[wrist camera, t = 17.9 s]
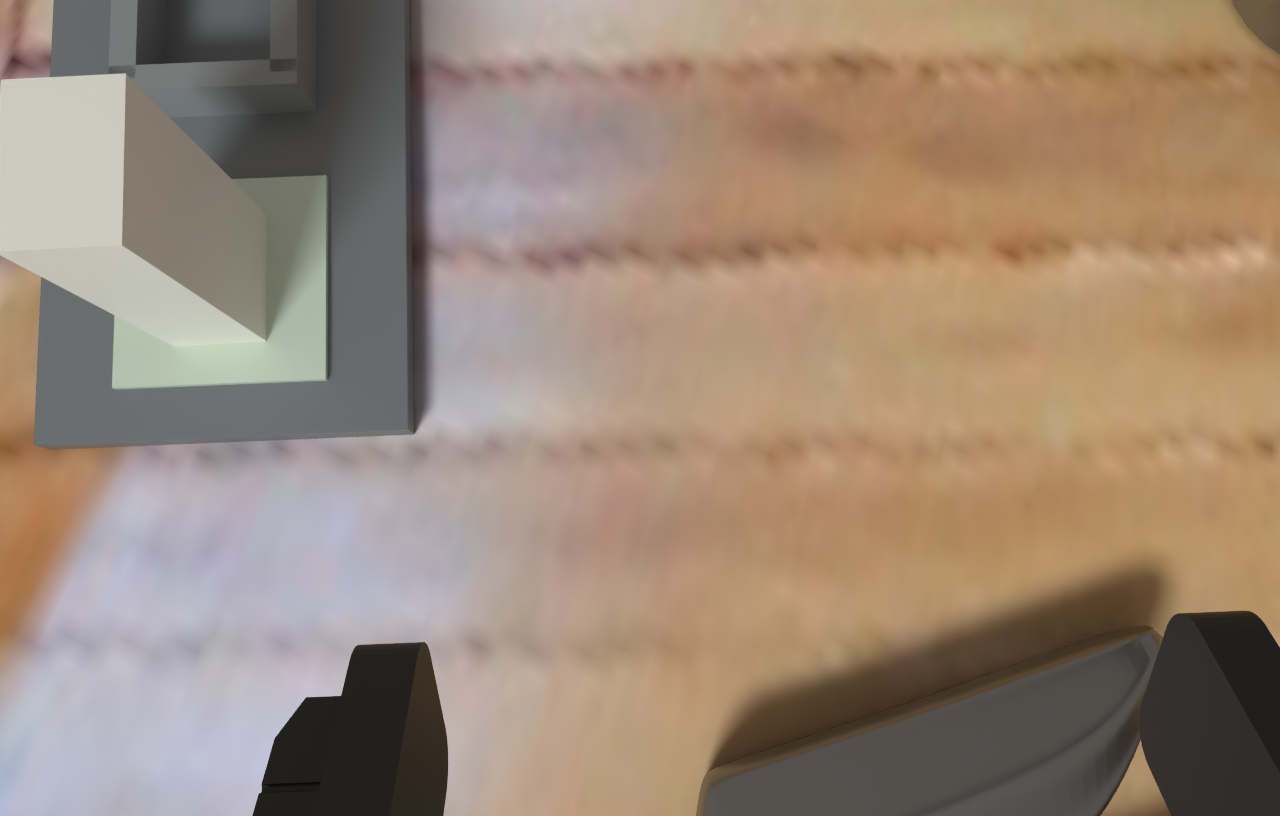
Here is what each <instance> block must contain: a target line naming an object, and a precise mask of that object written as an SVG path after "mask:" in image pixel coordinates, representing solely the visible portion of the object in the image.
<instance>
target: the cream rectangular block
mask: <svg viewBox="0 0 1280 816" xmlns="http://www.w3.org/2000/svg"><path fill="white" fill-rule="evenodd" d="M0 255H1V256H3V257H5V258H7V259H8V260H10V261H12V262H14V263H16V264H18V265H20V266H22V267H24V268H26V269H27V270H29V271H31V272H33V273H35V274H37V275H39V276H41V277H43V278H45V279H46V280H48V281H50V282H52V283H54V284H56V285H58V286H60V287H62V288H64V289H65V290H67V291H69V292H71V293H73V294H75V295H77V296H79V297H81V298H83V299H84V300H86V301H88V302H90V303H92V304H94V305H96V306H98V307H100V308H102V309H103V310H105V311H107V312H109V313H111V314H113V315H115V316H117V317H119V318H121V319H122V320H124V321H126V322H128V323H130V324H132V325H134V326H136V327H138V328H140V329H142V330H143V331H145V332H147V333H149V334H151V335H153V336H155V337H157V338H159V339H161V340H162V341H164V342H166V343H168V344H170V345H172V346H191V345H211V344H230V343H249V342H267V214H266V213H265V212H264V211H263V210H262V209H261V208H260V207H259V206H258V205H257V204H256V203H255V202H254V201H253V200H252V199H251V198H250V197H249V196H248V195H247V194H246V193H245V192H244V191H243V190H242V189H241V188H240V187H239V186H238V185H237V184H236V183H235V182H234V181H233V180H232V179H231V178H230V177H229V176H228V175H227V174H226V173H225V172H224V171H223V170H222V169H221V168H220V167H219V166H218V165H217V164H216V163H215V162H214V161H213V160H212V159H211V158H210V157H209V156H208V155H207V154H206V153H205V152H204V151H203V150H202V149H201V148H200V147H199V146H198V145H197V144H196V143H195V142H194V141H193V140H192V139H191V138H190V137H189V136H188V135H187V134H186V133H185V132H184V131H183V130H182V129H181V128H180V127H179V126H178V125H177V124H176V123H175V122H174V121H173V120H172V119H171V118H170V117H169V116H168V115H167V114H166V113H165V112H164V111H163V110H162V109H161V108H160V107H159V106H158V105H157V104H156V103H155V102H154V101H153V100H152V99H151V98H150V97H149V96H148V95H147V94H146V93H145V92H144V91H143V90H142V89H141V88H140V87H139V86H138V85H137V84H136V83H135V82H134V81H133V80H132V79H131V78H130V77H129V76H128V75H127V74H126V73H122V74H103V75H84V76H64V77H45V78H26V79H6V80H1V92H0Z"/></svg>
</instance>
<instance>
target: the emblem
mask: <svg viewBox="0 0 1280 816" xmlns="http://www.w3.org/2000/svg"><path fill="white" fill-rule="evenodd" d="M1162 640H1163V638H1162V636H1161V635H1160V634H1159V633H1158V632H1157V631H1155V630H1154V629H1153V628H1152V627H1149V626H1137V627H1131V628H1125V629H1121V630H1117V631H1113V632H1109V633H1106V634H1103V635H1099V636H1096V637H1093V638H1090V639H1087V640H1084V641H1081V642H1078V643H1075V644H1072V645H1069V646H1066V647H1064V648H1061V649H1058V650H1055V651H1052V652H1049V653H1047V654H1044V655H1041V656H1038V657H1036V658H1033V659H1030V660H1027V661H1024V662H1022V663H1019V664H1016V665H1013V666H1011V667H1008V668H1005V669H1002V670H1000V671H997V672H994V673H991V674H988V675H986V676H983V677H980V678H977V679H974V680H972V681H969V682H966V683H963V684H960V685H958V686H955V687H952V688H949V689H946V690H943V691H940V692H938V693H935V694H932V695H929V696H926V697H923V698H920V699H917V700H915V701H912V702H909V703H906V704H903V705H900V706H897V707H894V708H891V709H888V710H885V711H882V712H879V713H876V714H873V715H870V716H867V717H864V718H861V719H859V720H856V721H853V722H850V723H847V724H844V725H841V726H838V727H835V728H832V729H829V730H826V731H823V732H820V733H817V734H814V735H810V736H807V737H804V738H801V739H798V740H795V741H792V742H789V743H786V744H783V745H780V746H777V747H774V748H771V749H768V750H765V751H762V752H759V753H756V754H753V755H750V756H747V757H744V758H741V759H738V760H735V761H732V762H729V763H726V764H723V765H721V766H718V767H716V768H714V769H712V770H711V771H709V772H708V773H707V774H706V775H705V777H704V779H703V782H702V785H701V789H700V794H699V800H698V807H697V813H696V816H1100V815H1101V814H1102V813H1103V811H1104V810H1105V808H1106V807H1107V805H1108V804H1109V802H1110V801H1111V799H1112V797H1113V796H1114V794H1115V792H1116V791H1117V789H1118V787H1119V785H1120V783H1121V782H1122V780H1123V778H1124V776H1125V774H1126V772H1127V770H1128V768H1129V765H1130V763H1131V761H1132V759H1133V757H1134V754H1135V752H1136V750H1137V747H1138V745H1139V742H1140V740H1141V737H1140V726H1139V717H1140V707H1141V703H1142V700H1143V697H1144V694H1145V691H1146V688H1147V685H1148V682H1149V679H1150V676H1151V673H1152V670H1153V667H1154V664H1155V661H1156V658H1157V655H1158V652H1159V649H1160V646H1161V643H1162Z"/></svg>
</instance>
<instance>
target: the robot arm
mask: <svg viewBox="0 0 1280 816" xmlns="http://www.w3.org/2000/svg"><path fill="white" fill-rule="evenodd" d="M1233 3H1234V6H1235V7H1236V9H1237V10H1238V12H1239V14H1240V15H1241V17H1242V18H1243V20H1244V21H1245V23H1246V24H1247V26H1248V27H1249V28H1250V29H1251V30H1252V31H1253V32H1254V33H1255V34H1256V35H1257V36H1258V37H1259V38H1260V39H1261V40H1262V41H1263V42H1264V43H1265V44H1266V45H1268V46H1269V47H1270V48H1272V49H1273V50H1275V51H1276V52H1278V53H1279V54H1280V0H1233ZM1139 726H1140V737H1141V742H1142V747H1143V751H1144V755H1145V758H1146V761H1147V763H1148V765H1149V768H1150V770H1151V772H1152V774H1153V777H1154V779H1155V781H1156V783H1157V785H1158V787H1159V790H1160V792H1161V794H1162V796H1163V798H1164V800H1165V803H1166V805H1167V807H1168V809H1169V811H1170V814H1171V816H1280V647H1279V646H1278V644H1277V643H1276V641H1275V639H1274V638H1273V636H1272V635H1271V633H1270V632H1269V630H1268V628H1267V627H1266V625H1265V624H1264V623H1263V621H1262V620H1261V619H1260V618H1259V617H1258V616H1257V615H1256V614H1254V613H1253V612H1250V611H1228V612H1204V613H1180V614H1176V615H1174V616H1173V617H1172V618H1171V619H1170V621H1169V623H1168V625H1167V628H1166V631H1165V634H1164V637H1163V640H1162V643H1161V646H1160V649H1159V652H1158V655H1157V658H1156V661H1155V664H1154V667H1153V670H1152V673H1151V676H1150V679H1149V682H1148V685H1147V688H1146V691H1145V694H1144V697H1143V700H1142V703H1141V707H1140V717H1139ZM447 779H448V746H447V735H446V729H445V724H444V719H443V714H442V709H441V704H440V700H439V695H438V690H437V685H436V680H435V675H434V670H433V665H432V661H431V656H430V652H429V648H428V646H427V644H426V643H425V642H419V643H395V644H371V645H357V646H356V647H355V648H354V650H353V652H352V655H351V658H350V662H349V666H348V670H347V674H346V678H345V683H344V687H343V691H342V695H341V696H332V697H307V698H305V700H304V701H303V702H302V703H301V705H300V706H299V707H298V709H297V710H296V711H295V713H294V714H293V715H292V717H291V718H290V719H289V721H288V722H287V723H286V724H285V726H284V727H283V728H282V730H281V731H280V732H279V734H278V735H277V736H276V738H275V740H274V743H273V747H272V750H271V754H270V757H269V761H268V764H267V768H266V771H265V774H264V778H263V781H262V792H261V793H259V795H258V799H257V802H256V806H255V809H254V813H253V816H443V813H444V806H445V798H446V790H447Z"/></svg>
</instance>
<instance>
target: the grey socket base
mask: <svg viewBox="0 0 1280 816" xmlns="http://www.w3.org/2000/svg"><path fill="white" fill-rule="evenodd" d="M122 73H126V74H127V75H128V76H129V77H130V78H131V79H132V80H133V81H134V82H135V83H136V84H137V85H138V86H139V87H140V88H141V89H142V90H143V91H144V92H145V93H146V94H147V95H148V96H149V97H150V98H151V99H152V100H153V101H154V102H155V103H156V104H157V105H158V106H159V107H160V108H161V109H162V110H163V111H164V112H165V113H166V114H167V115H168V116H169V117H170V118H171V119H172V120H173V121H174V122H175V123H176V124H177V125H178V126H179V127H180V128H181V129H182V130H183V131H184V132H185V133H186V134H187V135H188V136H189V137H190V138H191V139H192V140H193V141H194V142H195V143H196V144H197V145H198V146H199V147H200V148H201V149H202V150H203V151H204V152H205V153H206V154H207V155H208V156H209V157H210V158H211V159H212V160H213V161H214V162H215V163H216V164H217V165H218V166H219V167H220V168H221V169H222V170H223V171H224V172H225V173H226V174H227V175H228V176H229V177H230V178H231V179H232V180H233V181H234V182H235V183H236V184H237V185H238V186H239V187H240V188H241V189H242V190H243V191H244V192H245V193H246V194H247V195H248V196H249V197H250V198H251V199H252V200H253V201H254V202H255V203H256V204H257V205H258V206H259V207H260V208H261V209H262V210H263V211H264V212H265V213H266V214H267V342H249V343H230V344H211V345H191V346H172V345H170V344H168V343H166V342H164V341H162V340H161V339H159V338H157V337H155V336H153V335H151V334H149V333H147V332H145V331H143V330H142V329H140V328H138V327H136V326H134V325H132V324H130V323H128V322H126V321H124V320H122V319H121V318H119V317H117V316H115V315H113V314H111V313H109V312H107V311H105V310H103V309H102V308H100V307H98V306H96V305H94V304H92V303H90V302H88V301H86V300H84V299H83V298H81V297H79V296H77V295H75V294H73V293H71V292H69V291H67V290H65V289H64V288H62V287H60V286H58V285H56V284H54V283H52V282H50V281H48V280H46V279H45V278H43V277H41V295H40V317H39V339H38V361H37V383H36V405H35V427H34V446H38V447H42V448H46V449H73V448H97V447H121V446H145V445H169V444H193V443H217V442H241V441H265V440H289V439H312V438H336V437H360V436H384V435H408V434H414V346H413V237H412V127H411V17H410V0H54V7H53V29H52V52H51V74H50V77H64V76H84V75H103V74H122Z"/></svg>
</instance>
